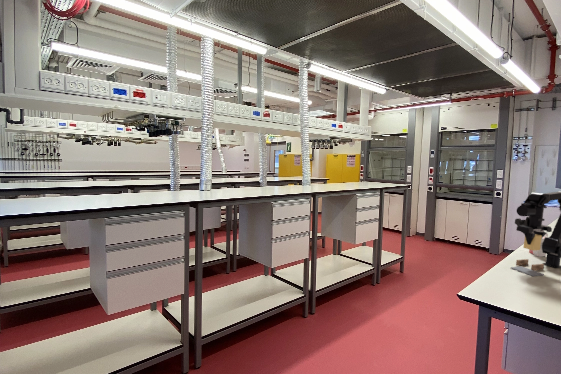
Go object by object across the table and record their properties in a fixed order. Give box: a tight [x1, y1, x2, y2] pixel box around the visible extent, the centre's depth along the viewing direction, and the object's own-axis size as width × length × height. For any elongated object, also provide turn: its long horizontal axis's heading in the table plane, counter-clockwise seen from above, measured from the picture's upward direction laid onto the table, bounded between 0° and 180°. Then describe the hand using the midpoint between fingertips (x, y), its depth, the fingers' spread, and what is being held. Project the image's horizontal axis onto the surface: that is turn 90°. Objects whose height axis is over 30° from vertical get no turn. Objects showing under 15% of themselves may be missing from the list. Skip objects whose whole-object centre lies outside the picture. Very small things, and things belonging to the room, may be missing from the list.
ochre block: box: [523, 234, 542, 251], centre depth 161 cm, size 5×5×8 cm
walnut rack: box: [515, 258, 545, 271], centre depth 163 cm, size 8×9×3 cm
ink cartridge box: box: [528, 233, 549, 258], centre depth 187 cm, size 9×5×15 cm, turn 168°
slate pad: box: [510, 265, 545, 277], centre depth 156 cm, size 8×11×1 cm
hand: (532, 244), depth 162 cm, fingers closed on ochre block, 5 cm apart
